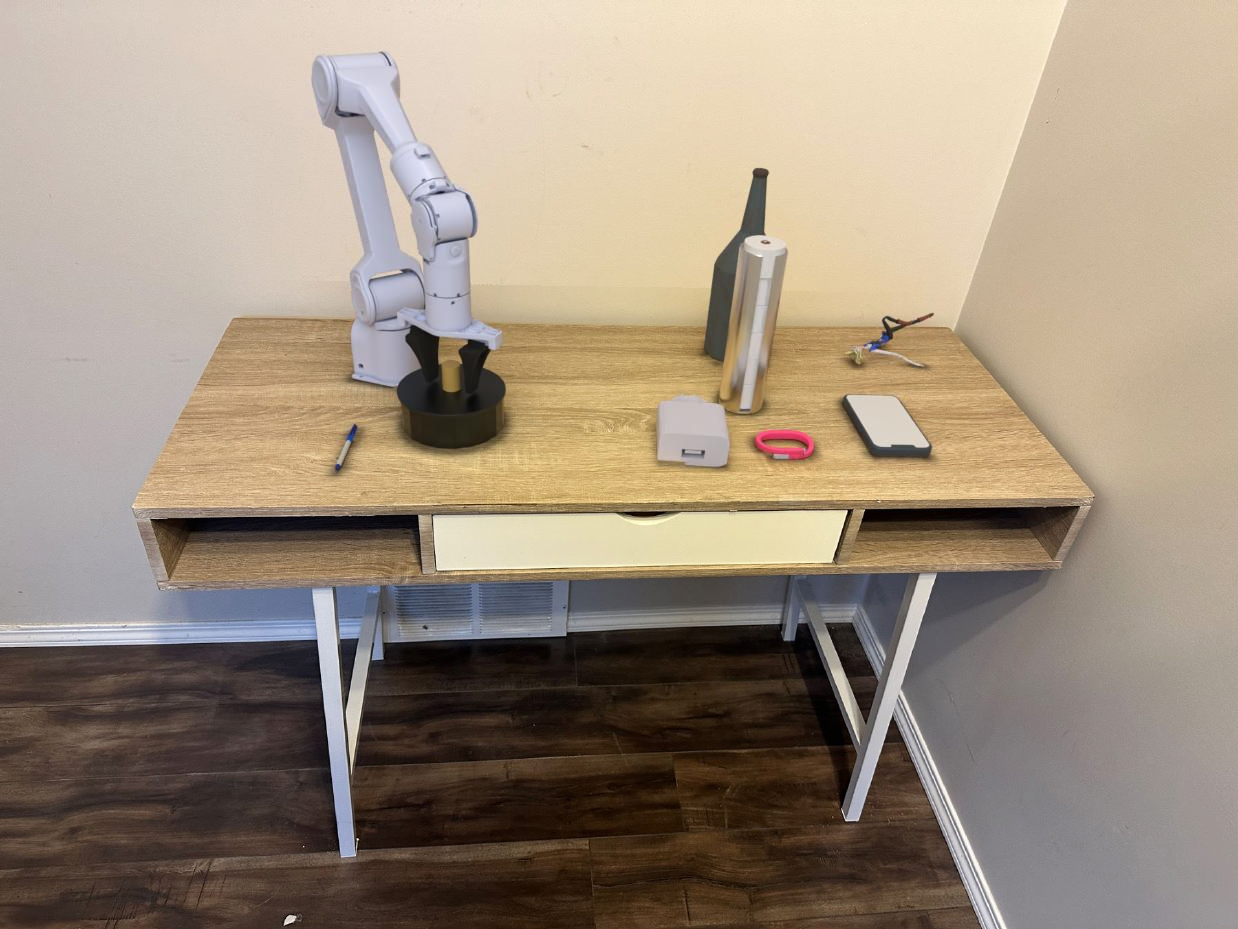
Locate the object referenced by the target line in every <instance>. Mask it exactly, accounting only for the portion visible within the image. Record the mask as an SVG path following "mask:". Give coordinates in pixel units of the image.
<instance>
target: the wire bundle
mask: <svg viewBox="0 0 1238 929" xmlns="http://www.w3.org/2000/svg"><path fill="white" fill-rule="evenodd" d="M934 315H935V312H931V313H928V314H926V315H923V316H920V317H917V318H916V319H914V320H910V321H906V320H903V319H900V318H897V319H896V318H894V317H892V316H891V315H890V316H889V315H885V316H884V317H883V318H882V319H881V323H882V326H883V327H884V329H885V330H882V331H881V337H880V338H878V339H877V340H875V339H872V340H871V341H869V342H867V343H864V344H863V345H862V346H861V345H860V346H859V345H852V346H850V347H849V348H847V349H846V350H845V353H844V355H845V356H847V357H848V358H850V359H851V360H853V361H854V362H855V363H856V364H857V365H861V364H862V363H863V362H862V360H863V359H864V356H865V353H863V350H868V352H869V353H874V354H879V355H889V356H891V357H895V358H896V357H897V358H900V359H901V360H903V361H905V362H907V363H908V364H911V365H913V366H916V367H923V368H925V366H924V365H923V364H922V363H918V362H915V361H912V360H910V359H908V358H907V357H906V356H904V355H901V354H899V353H896V352H892V351H887V350H883V349H879V348H880V347H881V348H882V347H884V344H887V343H889V342H890V341H891V340H893V339H894V333H896V332H897V331H900V330H901V329H903V328H906V327H910V326H913V325H916V324H918V323H919V324H920V323H922V322H924V321H926V320H928V319H930V318H932V317H933V316H934ZM886 320H887V321H888V322H891V323H894V324H895V326H892V327H891V326H890V325H889V324H888V322H887V321H886ZM896 325H897V326H896Z"/></svg>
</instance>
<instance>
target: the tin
mask: <svg viewBox="0 0 1238 929" xmlns="http://www.w3.org/2000/svg"><path fill="white" fill-rule="evenodd" d="M400 412H401V424H402V428H403V431H404V432H403V433H404V434H406V436H408V437H409V438H410V440H411V441H414V442H416V443H418V444H421V445H423V446H425V447H431V448H435V449H443V450H446V449H447V450H458V449H465V448H473V447H475V446H480V445H482V444H485V443H487V442H489V441H491V440H492V439H494V438H496V437H497V436H498V435H499V434H500V433H501V431H502V430H503V428H504V422H505V398H504V399H503V400H502V401H501V402H500V404H498V405H497V406H496V407H494V408H493V409H491V410H489V411H487V412H484V413H481V414H478V415H474V416H470V417H464V418H435V417H429V416H424V415H421V414H418V413H415V412H413V411H411V410H409V409H407V408H406V407H405V406H403V405H402V404H401V403H400Z"/></svg>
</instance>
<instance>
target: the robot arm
mask: <svg viewBox="0 0 1238 929" xmlns="http://www.w3.org/2000/svg"><path fill="white" fill-rule="evenodd" d="M400 76H401V75H400V71H399V68H398V65H397V63H396V61H395V59H394V58H393V57H392V56H391V54H390V53H389V52H387V51H386V50H382V51H378V52H365V53H364V52H363V53H349V54H348V53H347V54H329V55H325V54H324V53H323V54H321V53H320V54H317V55H316V57H315V58H314V60H313V62H312V66H311V77H310V78H311V79H310V80H311V86H312V90H313V95H314V98H315V102H316V106H317V111H318V115H319V117H320V121H321V123H322V125H323V126H325V127H327V128H328V129H330V130H333V131H334V134H335V137H336V142H337V144H338V148H339V154H340V157H341V162H342V165H343V169H344V175H345V178H346V183H347V187H348V191H349V195H350V198H351V199H350V200H351V203H352V208H353V211H354V216H355V219H356V224H357V228H358V232H359V237H360V241H361V245H362V249H363V255H362V257H361V258H360V259H359V261H357V263H356V264H355V265H354V266H353V267H352V269H351V271H350V272H349V282H350V289H351V290H350V296H351V302H352V307H353V309H354V312H355V314H356V316H357V317H356V318H355V319H354V321H353V322H352V326H351V329H350V345H351V354H352V363H353V371H354V373H353V374H351V378H352V379H353V380H358V381H362V382H367V383H371V384H375V385H379V386H384V387H385V386H386V387H391V388H395V387H397V386H398V384H399V382H400V381H401V380H402V379H403V378H404V377H405V376H406V375H408V374H410V373H411V372H413V371H416V370H418V369H422V371H423V374H424V377H425V380H426V382H428V383H431V382H432V381H433V380H435V379H436V378H437V377H438V374H439V364H440V361H439V360H440V359H439V346H440V338H448V339H458V340H463V341H466V342H467V343H466V344H464V345H463V346H462V347H460V348H458V350H457V351H458V355H459V358H460V360H461V364H463V369H464V381H465V390H466V393H469V394H471V393H473V392H474V391H475V390H476V389H477V388H478V385H479V380H480V376H481V372H482V369H483V368H484V365H485V363H486V361H487V358H488V356H489V355H490V353H491V351H497V350H498V349H499V348H501V347H502V346H503V344H504V341H503V340H504V339H503V337H504V336H503V330H500V329H496V328H493V327H492V326H490V325H488V324H486V323H483V322H481V321H479V320H478V319H475V318H474V317H472V293H471V291H472V290H471V263H470V262H471V261H470V260H471V259H470V258H471V255H470V240H469V239H472V238H474V237H475V236H476V235H477V232H478V228H479V218H478V215H479V214H478V210H477V207H476V204H475V201H474V199H473V197H472V195H471V194H470V192H469V191H468V190H466V189H465V188H462V187H460V186H459V184H458V183H453V182H452V180H450V178H449V176H448V174H447V172H446V171H445V169H444V167H443V166H442V164H441V161H440V160H439V159H438V157H437V155H436V154H435V151H434V149H433V147H431V145H429V144H428V143H425V142H422V141H418V138H417V136H416V134H415V131H414V129H413V127H412V125H411V123H410V120H409V118H408V116H407V113H406V111H405V108H404V107H403V105H402V102H401V78H400ZM375 132H376V133H377V135H378V137H379V138H380V139H381V141H382V142H383V144H384V145H385V146H386V148H387V150H388V151H389V152H390V154H391V158H390V161H389V169H390V171H391V173H392V176H393V177H394V179H395V180H396V182H397V184H398V187H399V188H400V190H401V191H402V192H401V193H403V195H404V197H405V199H406V201H407V202H408V204H409V207H410V208H411V213H410V222H411V226H412V229H413V230H412V231H413V233H414V235H415V238H416V239H415V240H416V250H417V252H418V255H419V256H421V257H422V258H421V259H422V266H421V264H420V261H419V260H418V259H416V258H415V257H413V256H411V255H410V254H408V253H407V252H404V251H403V250H402V249H401V247H400V244H399V239H398V234H397V230H396V225H395V220H394V217H393V213H392V208H391V204H390V198H389V195H388V191H387V186H386V182H385V178H384V172H383V168H382V164H381V159H380V155H379V150H378V147H377V141H376V138H375ZM396 271H400V272H398V273H394V274H389V275H383V276H378V277H374V276H377V275H380V274H386V273H390V272H396ZM372 277H373V278H372Z"/></svg>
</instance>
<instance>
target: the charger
mask: <svg viewBox="0 0 1238 929" xmlns="http://www.w3.org/2000/svg"><path fill="white" fill-rule="evenodd" d="M726 415H727V414H726V409H724V407H723V406H722V405H720V404H719V403H716V402H708V400H706V399H705V398H702V397H701V396H699V395H696V393H692V394H691V395H688V394H687V395H686V394H684V393H683V392H682V393H680V394H679V395H677V396H674V397H672V398H670V399H669V400H663V401H660V402H659V403H658V405H657V412H656V422H655V428H656V429H655V430H656V431H655V432H656V433H655V434H656V457H657V460H658V461H667V462H680V463H681V462H684V464H683V465H684V466H694V467H695V466H697V467H712V468H713V467H714V468H717V467H718V468H719V467H722V466H723V467H724V466H726V465H727V463H728V459H729V458H728V457H729V453H730V445H731V440H730V439H731V438H730V434H729V428H728V422H727V417H726Z"/></svg>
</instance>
